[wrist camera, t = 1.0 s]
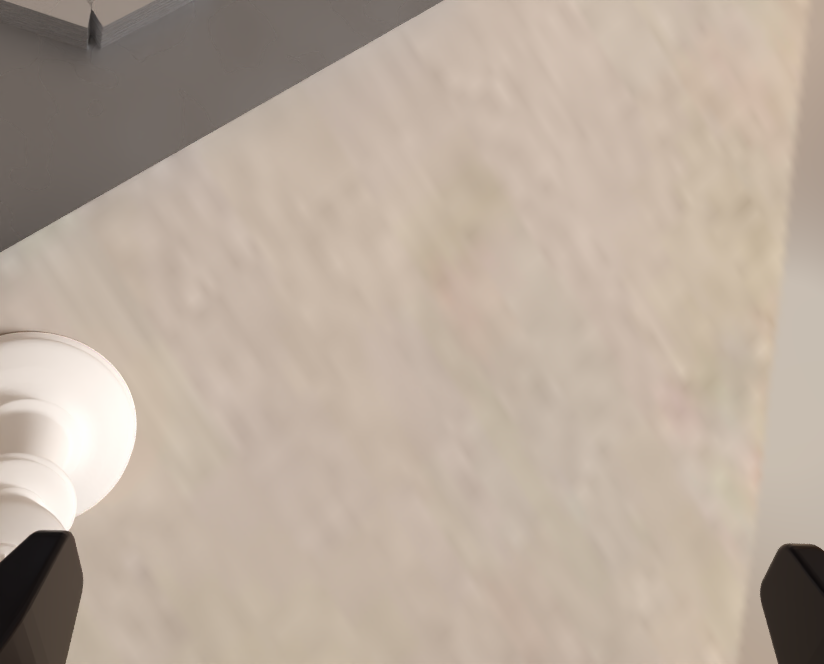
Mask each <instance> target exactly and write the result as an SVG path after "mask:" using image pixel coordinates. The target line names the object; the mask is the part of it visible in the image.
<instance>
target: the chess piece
mask: <svg viewBox="0 0 824 664" xmlns="http://www.w3.org/2000/svg"><path fill="white" fill-rule="evenodd" d="M135 437H136V411H135V406H134V402H133V398H132V396H131V393H130V391H129V388H128V386H127V384H126V382H125V381H124V379H123V378H122V376H121V375H120V373H119V372H118V371H117V370H116V368H115V367H114V366H113V365H112V364H111V363H110V362H109V361H108V360H107V359H106V358H105V357H103V356H102V355H101V354H100V353H98V352H97V351H95V350H94V349H92V348H91V347H89V346H87V345H85V344H83V343H81V342H79V341H76V340H74V339H71V338H68V337H65V336H61V335H57V334H52V333H45V332H17V333H10V334H5V335H0V562H1V561H2V560H3V559H4V558H5V557H6V556H7V555H8V554H9V553H11V552H12V551H13V550H14V549H15V548H16V547H17V546H18V545H19V544H20V543H22V542H23V541H24V540H25V539H26V538H27V537H28V536H29V535H30V534H32V533H34V532H35V531H38V530H66V531H69V529H70V528H71V526H72V523H73V521H74V518H75V517H77V516H79V515H80V514H82V513H84V512H86V511H87V510H89V509H90V508H92V507H93V506H94V505H96V504H97V503H98V502H99V501H100V500H102V499H103V498H104V497H105V496H106V495H107V494H108V493H109V492H110V491H111V489H112V488H113V487H114V486H115V485H116V483H117V482H118V480H119V479H120V477H121V476H122V474H123V472H124V470H125V468H126V466H127V464H128V462H129V459H130V456H131V453H132V450H133V447H134V443H135Z"/></svg>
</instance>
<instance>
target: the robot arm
mask: <svg viewBox="0 0 824 664" xmlns="http://www.w3.org/2000/svg"><path fill="white" fill-rule="evenodd" d="M82 589H83V573H82V568H81V564H80V560H79V556H78V552H77V547H76V543H75V539H74V537H73V535H72V533H71V532H69V531H66V530H38V531H35V532H34V533H32V534H30V535H29V536H28V537H27V538H26V539H25V540H24V541H23V542H22V543H20V544H19V545H18V546H17V547H16V548H15V549H14V550H13V551H12V552H11V553H9V554H8V555H7V556H6V557H5V558H4V559H3V560H2V561H1V562H0V664H65V663H66V659H67V655H68V651H69V646H70V642H71V638H72V633H73V629H74V625H75V621H76V616H77V612H78V608H79V603H80V599H81V595H82ZM760 597H761V603H762V607H763V610H764V614H765V618H766V621H767V625H768V629H769V632H770V636H771V639H772V643H773V647H774V650H775V654H776V658H777V661H778V664H824V551H823V550H822V549H821V548H819V547H817V546H815V545H812V544H784V545H783V546H781V547H780V548H779V549H778V551H777V553H776V555H775V557H774V559H773V561H772V563H771V565H770V567H769V569H768V571H767V573H766V575H765V577H764V579H763V581H762V583H761V589H760Z"/></svg>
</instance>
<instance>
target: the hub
mask: <svg viewBox="0 0 824 664" xmlns="http://www.w3.org/2000/svg"><path fill="white" fill-rule="evenodd" d="M441 1H443V0H0V252H1V251H3V250H5V249H7V248H8V247H10V246H12V245H14V244H15V243H17V242H19V241H21V240H23V239H24V238H26V237H28V236H30V235H31V234H33V233H35V232H37V231H38V230H40V229H42V228H44V227H45V226H47V225H49V224H51V223H52V222H54V221H56V220H58V219H59V218H61V217H63V216H65V215H67V214H68V213H70V212H72V211H74V210H75V209H77V208H79V207H81V206H82V205H84V204H86V203H88V202H89V201H91V200H93V199H95V198H96V197H98V196H100V195H102V194H103V193H105V192H107V191H109V190H110V189H112V188H114V187H116V186H118V185H119V184H121V183H123V182H125V181H126V180H128V179H130V178H132V177H133V176H135V175H137V174H139V173H140V172H142V171H144V170H146V169H147V168H149V167H151V166H153V165H154V164H156V163H158V162H160V161H162V160H163V159H165V158H167V157H169V156H170V155H172V154H174V153H176V152H177V151H179V150H181V149H183V148H184V147H186V146H188V145H190V144H191V143H193V142H195V141H197V140H198V139H200V138H202V137H204V136H205V135H207V134H209V133H211V132H213V131H214V130H216V129H218V128H220V127H221V126H223V125H225V124H227V123H228V122H230V121H232V120H234V119H235V118H237V117H239V116H241V115H242V114H244V113H246V112H248V111H249V110H251V109H253V108H255V107H257V106H258V105H260V104H262V103H264V102H265V101H267V100H269V99H271V98H272V97H274V96H276V95H278V94H279V93H281V92H283V91H285V90H286V89H288V88H290V87H292V86H293V85H295V84H297V83H299V82H300V81H302V80H304V79H306V78H308V77H309V76H311V75H313V74H315V73H316V72H318V71H320V70H322V69H323V68H325V67H327V66H329V65H330V64H332V63H334V62H336V61H337V60H339V59H341V58H343V57H344V56H346V55H348V54H350V53H352V52H353V51H355V50H357V49H359V48H360V47H362V46H364V45H366V44H367V43H369V42H371V41H373V40H374V39H376V38H378V37H380V36H381V35H383V34H385V33H387V32H388V31H390V30H392V29H394V28H395V27H397V26H399V25H401V24H403V23H404V22H406V21H408V20H410V19H411V18H413V17H415V16H417V15H418V14H420V13H422V12H424V11H425V10H427V9H429V8H431V7H432V6H434V5H436V4H438V3H439V2H441Z"/></svg>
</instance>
